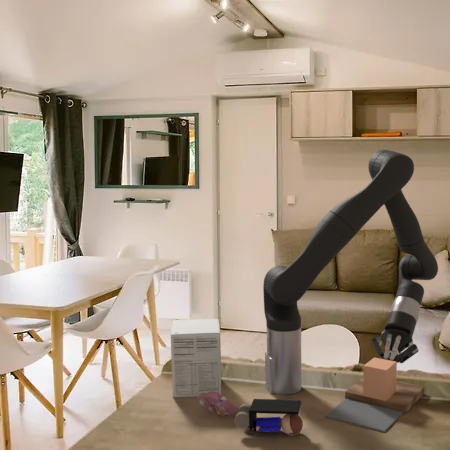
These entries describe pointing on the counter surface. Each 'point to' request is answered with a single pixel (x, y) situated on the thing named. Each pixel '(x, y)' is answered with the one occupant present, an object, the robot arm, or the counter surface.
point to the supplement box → (195, 357)
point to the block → (379, 379)
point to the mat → (364, 415)
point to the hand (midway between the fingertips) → (385, 374)
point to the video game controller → (217, 403)
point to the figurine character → (272, 406)
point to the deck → (398, 401)
